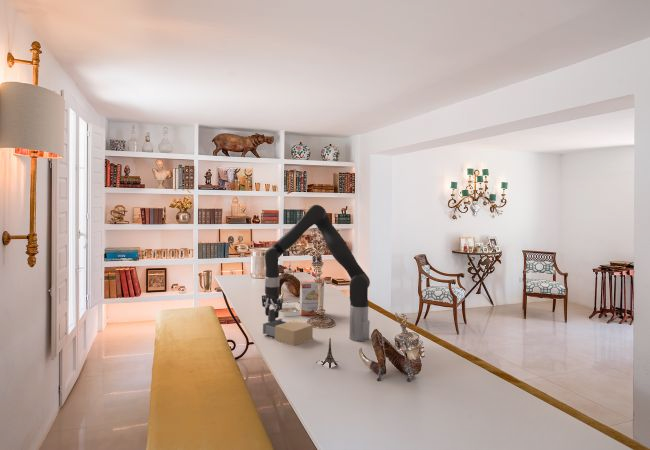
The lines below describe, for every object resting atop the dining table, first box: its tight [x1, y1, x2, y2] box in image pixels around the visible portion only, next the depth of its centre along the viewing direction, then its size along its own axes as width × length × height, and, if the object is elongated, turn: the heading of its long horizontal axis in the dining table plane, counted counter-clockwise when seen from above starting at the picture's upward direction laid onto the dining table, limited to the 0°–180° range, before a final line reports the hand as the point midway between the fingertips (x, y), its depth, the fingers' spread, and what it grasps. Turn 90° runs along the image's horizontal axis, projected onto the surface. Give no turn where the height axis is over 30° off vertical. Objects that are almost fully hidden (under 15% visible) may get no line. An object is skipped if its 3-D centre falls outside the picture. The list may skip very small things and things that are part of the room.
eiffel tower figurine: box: [321, 337, 338, 369], centre depth 183 cm, size 15×10×13 cm
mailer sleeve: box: [274, 319, 314, 346], centre depth 215 cm, size 13×14×7 cm
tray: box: [262, 308, 288, 338], centre depth 221 cm, size 14×13×11 cm
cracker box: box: [299, 279, 325, 317], centre depth 262 cm, size 14×6×21 cm, turn 105°
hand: (271, 316), depth 225 cm, fingers open, 6 cm apart
